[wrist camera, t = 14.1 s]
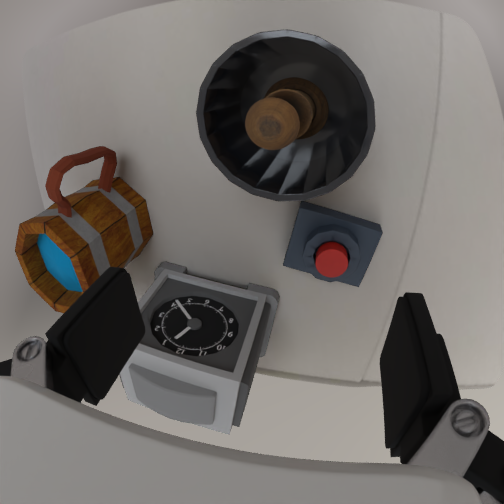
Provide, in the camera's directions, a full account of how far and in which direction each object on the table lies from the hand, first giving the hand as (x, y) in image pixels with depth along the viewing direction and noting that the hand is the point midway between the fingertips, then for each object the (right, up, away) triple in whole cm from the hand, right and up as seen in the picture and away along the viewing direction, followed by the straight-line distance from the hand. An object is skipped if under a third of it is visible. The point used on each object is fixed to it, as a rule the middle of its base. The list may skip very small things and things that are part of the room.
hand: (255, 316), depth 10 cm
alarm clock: (-6, -7, +38) cm, 39 cm away
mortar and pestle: (+5, +17, +20) cm, 27 cm away
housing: (+10, +3, +28) cm, 30 cm away
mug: (-20, +10, +32) cm, 39 cm away
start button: (+9, +2, +25) cm, 26 cm away
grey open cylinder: (+5, +18, +21) cm, 28 cm away
